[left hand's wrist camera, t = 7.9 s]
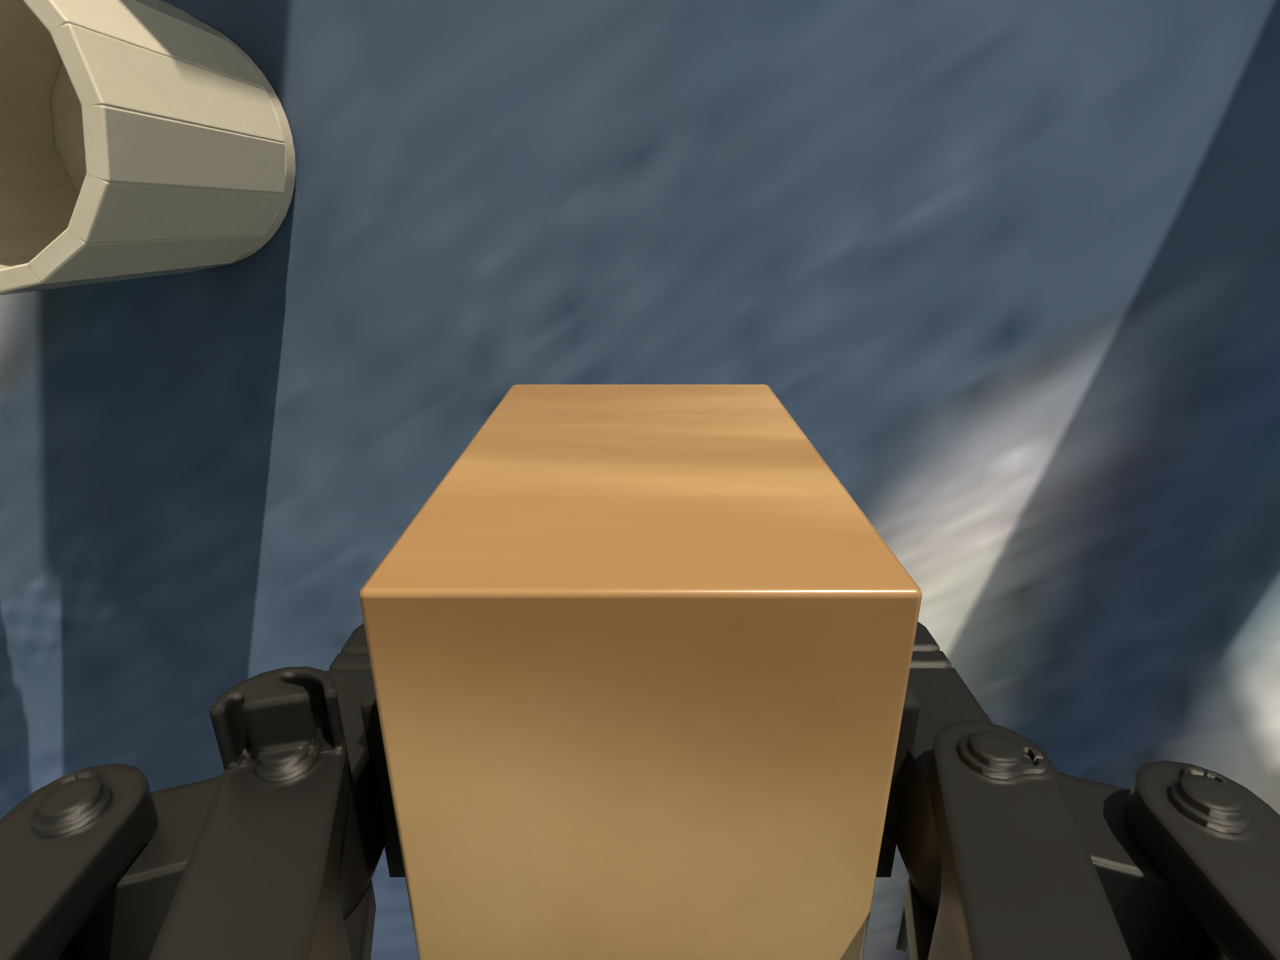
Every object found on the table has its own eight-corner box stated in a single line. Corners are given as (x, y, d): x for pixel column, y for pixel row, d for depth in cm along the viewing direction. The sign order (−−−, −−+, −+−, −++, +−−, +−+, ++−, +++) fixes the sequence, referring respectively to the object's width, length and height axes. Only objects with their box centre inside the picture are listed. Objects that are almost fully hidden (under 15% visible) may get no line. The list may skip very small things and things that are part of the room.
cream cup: (171, -49, 21) (-134, -222, 13) (345, 180, 24) (182, 160, 15) (5, 110, 23) (-363, 48, 14) (184, 311, 25) (-45, 359, 17)
